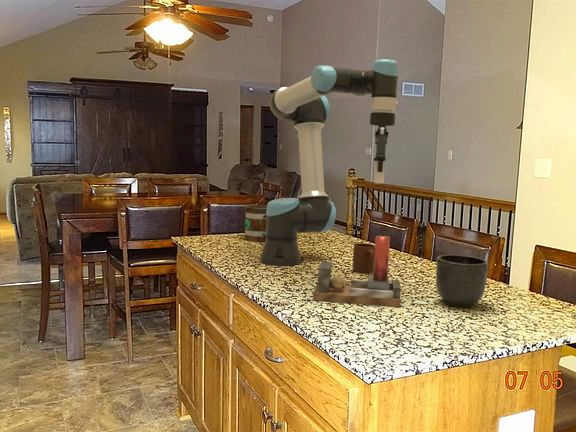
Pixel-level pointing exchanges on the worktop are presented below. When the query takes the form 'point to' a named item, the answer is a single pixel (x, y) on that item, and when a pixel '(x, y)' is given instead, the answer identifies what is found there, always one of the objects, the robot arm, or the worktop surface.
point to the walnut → (337, 282)
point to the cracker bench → (354, 291)
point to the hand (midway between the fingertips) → (378, 182)
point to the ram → (380, 265)
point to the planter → (461, 279)
